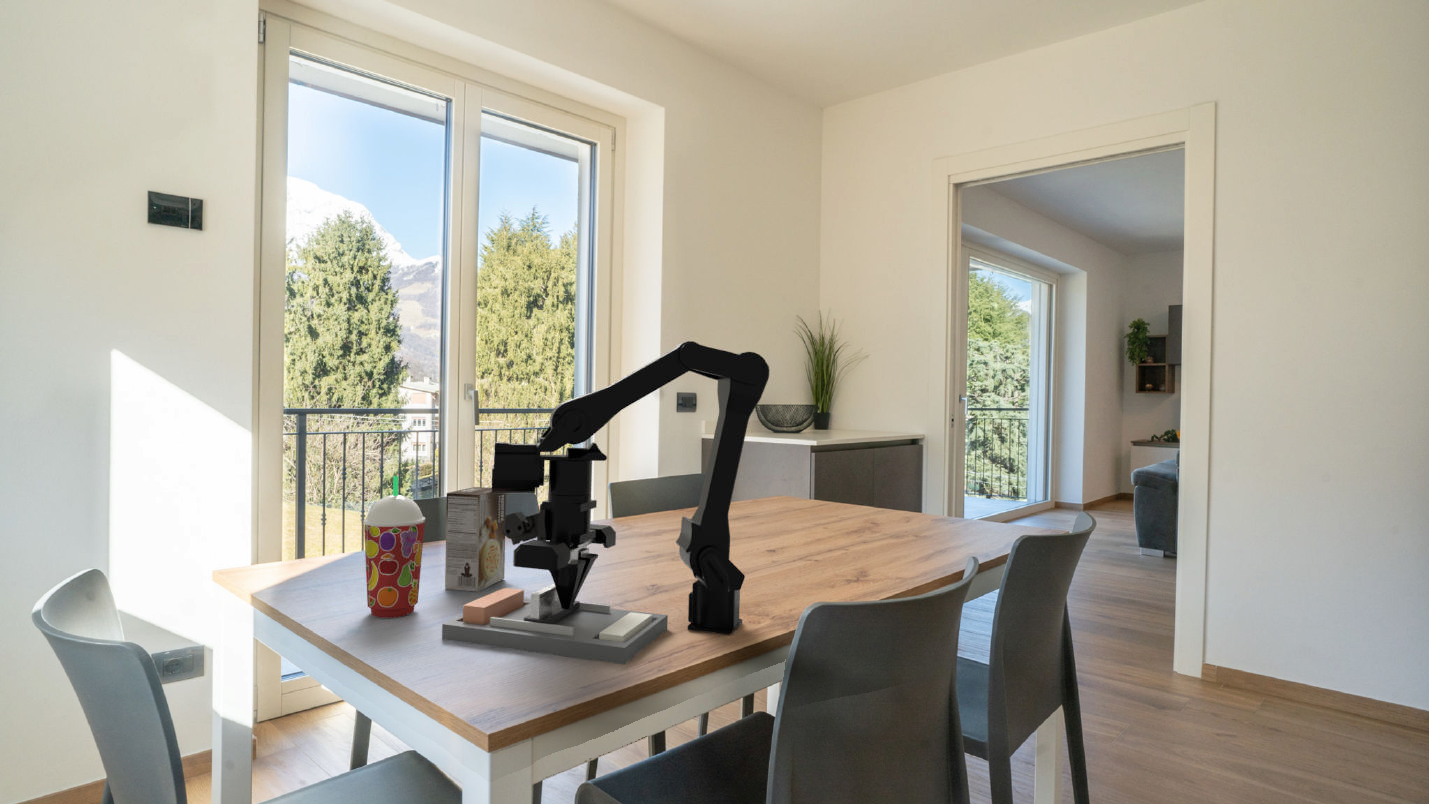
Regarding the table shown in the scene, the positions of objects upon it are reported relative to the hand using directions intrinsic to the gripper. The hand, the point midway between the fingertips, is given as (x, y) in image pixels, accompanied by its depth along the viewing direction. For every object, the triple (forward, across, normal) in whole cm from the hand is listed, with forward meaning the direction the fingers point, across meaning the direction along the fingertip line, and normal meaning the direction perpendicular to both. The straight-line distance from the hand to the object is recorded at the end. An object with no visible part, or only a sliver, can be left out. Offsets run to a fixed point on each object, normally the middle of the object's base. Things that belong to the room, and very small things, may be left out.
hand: (566, 608), depth 103 cm
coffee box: (+4, -19, -27) cm, 33 cm away
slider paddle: (+1, 0, -2) cm, 2 cm away
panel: (+4, 0, -1) cm, 4 cm away
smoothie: (+4, 0, -28) cm, 28 cm away
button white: (+4, 0, +9) cm, 9 cm away
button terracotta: (+2, 0, -11) cm, 11 cm away
